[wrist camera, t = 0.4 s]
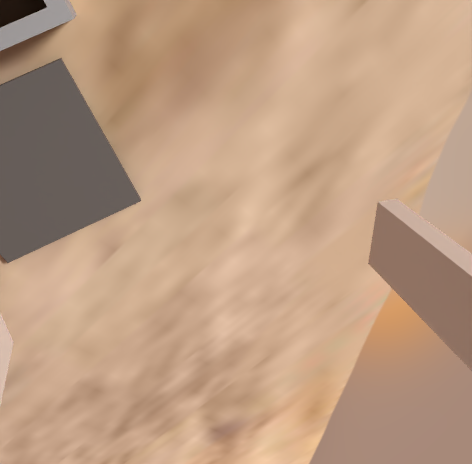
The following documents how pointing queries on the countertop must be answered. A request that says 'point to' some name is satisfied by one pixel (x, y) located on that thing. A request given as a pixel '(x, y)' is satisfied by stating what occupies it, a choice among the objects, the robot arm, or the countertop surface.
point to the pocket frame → (36, 23)
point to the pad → (53, 163)
